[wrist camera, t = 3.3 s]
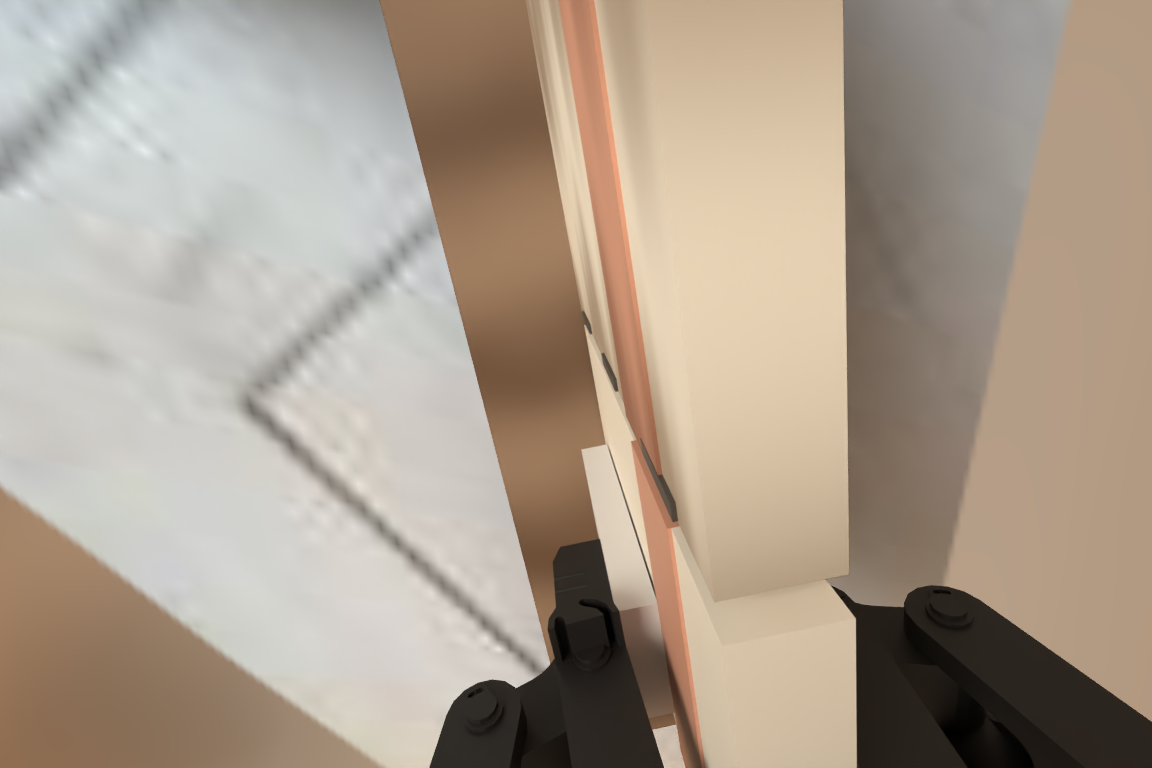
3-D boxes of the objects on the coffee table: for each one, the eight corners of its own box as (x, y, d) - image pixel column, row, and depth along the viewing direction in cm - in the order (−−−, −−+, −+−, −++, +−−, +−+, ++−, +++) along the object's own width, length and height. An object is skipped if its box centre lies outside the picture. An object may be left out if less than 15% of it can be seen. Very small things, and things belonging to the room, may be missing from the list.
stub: (582, 325, 16) (716, 647, 5) (626, 316, 16) (861, 617, 5) (618, 527, 19) (765, 1054, 7) (657, 519, 19) (862, 1034, 7)
